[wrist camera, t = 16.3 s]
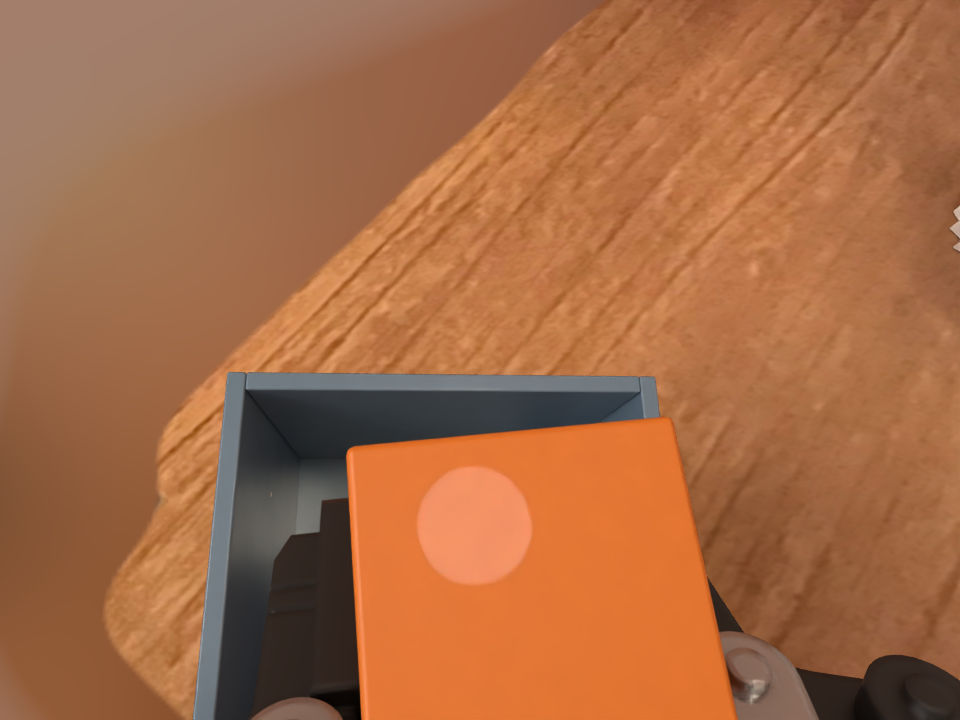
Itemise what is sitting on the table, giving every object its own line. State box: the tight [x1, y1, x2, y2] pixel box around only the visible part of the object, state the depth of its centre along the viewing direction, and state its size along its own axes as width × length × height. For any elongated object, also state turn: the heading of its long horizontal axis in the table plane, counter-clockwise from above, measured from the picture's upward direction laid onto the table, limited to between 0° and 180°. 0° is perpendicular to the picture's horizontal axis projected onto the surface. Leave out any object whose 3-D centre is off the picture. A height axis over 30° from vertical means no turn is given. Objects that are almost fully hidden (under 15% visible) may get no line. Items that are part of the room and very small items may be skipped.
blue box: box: [193, 372, 660, 720], centre depth 21 cm, size 13×12×12 cm
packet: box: [346, 417, 738, 720], centre depth 10 cm, size 5×4×9 cm
